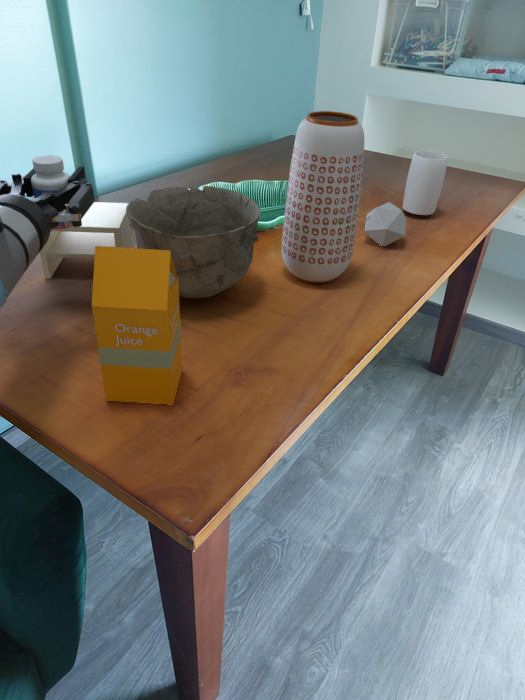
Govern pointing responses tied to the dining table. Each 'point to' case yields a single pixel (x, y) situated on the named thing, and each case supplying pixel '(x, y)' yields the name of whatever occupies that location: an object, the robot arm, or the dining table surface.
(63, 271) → the dining table surface
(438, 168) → the cup
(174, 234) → the bowl
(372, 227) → the die
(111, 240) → the shelf
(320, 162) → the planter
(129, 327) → the orange juice
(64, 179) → the pill bottle
